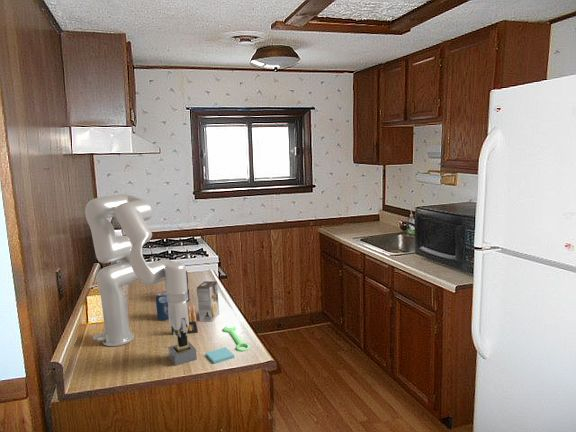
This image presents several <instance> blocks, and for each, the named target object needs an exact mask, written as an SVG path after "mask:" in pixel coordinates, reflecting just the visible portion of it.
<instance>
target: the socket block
mask: <svg viewBox="0 0 576 432" xmlns="http://www.w3.org/2000/svg"><path fill="white" fill-rule="evenodd" d="M188 348H189V350H185V351H182V352H178V353H177V352H176V351H175V345H171V346H168V347H167V349H168V358H169V359H170V361H171V362H172V363H173V364H174V366H179V365H182V364H186V363H189V362H193V361H196V360H198V358H197V349H196V347H194V345H193V344H192V343H191V342H190V341H188Z"/></svg>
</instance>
